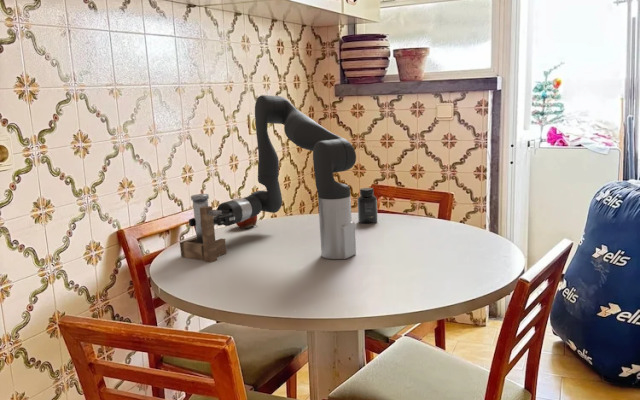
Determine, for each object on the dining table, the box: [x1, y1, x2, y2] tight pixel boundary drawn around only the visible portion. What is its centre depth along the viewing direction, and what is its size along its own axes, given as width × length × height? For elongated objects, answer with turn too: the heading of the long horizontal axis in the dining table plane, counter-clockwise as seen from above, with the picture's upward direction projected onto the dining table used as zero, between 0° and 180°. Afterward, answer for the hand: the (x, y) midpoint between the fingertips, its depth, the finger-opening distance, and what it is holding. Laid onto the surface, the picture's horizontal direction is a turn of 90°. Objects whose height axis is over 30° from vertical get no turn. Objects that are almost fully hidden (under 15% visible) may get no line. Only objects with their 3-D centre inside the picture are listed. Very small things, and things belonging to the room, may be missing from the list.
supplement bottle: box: [357, 187, 379, 225], centre depth 200 cm, size 7×7×12 cm
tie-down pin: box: [190, 193, 210, 244], centre depth 169 cm, size 5×5×17 cm
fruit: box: [235, 215, 258, 229], centre depth 204 cm, size 8×8×8 cm
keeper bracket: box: [179, 205, 227, 263], centre depth 167 cm, size 16×9×16 cm, turn 56°
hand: (195, 223), depth 167 cm, fingers closed on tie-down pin, 4 cm apart
